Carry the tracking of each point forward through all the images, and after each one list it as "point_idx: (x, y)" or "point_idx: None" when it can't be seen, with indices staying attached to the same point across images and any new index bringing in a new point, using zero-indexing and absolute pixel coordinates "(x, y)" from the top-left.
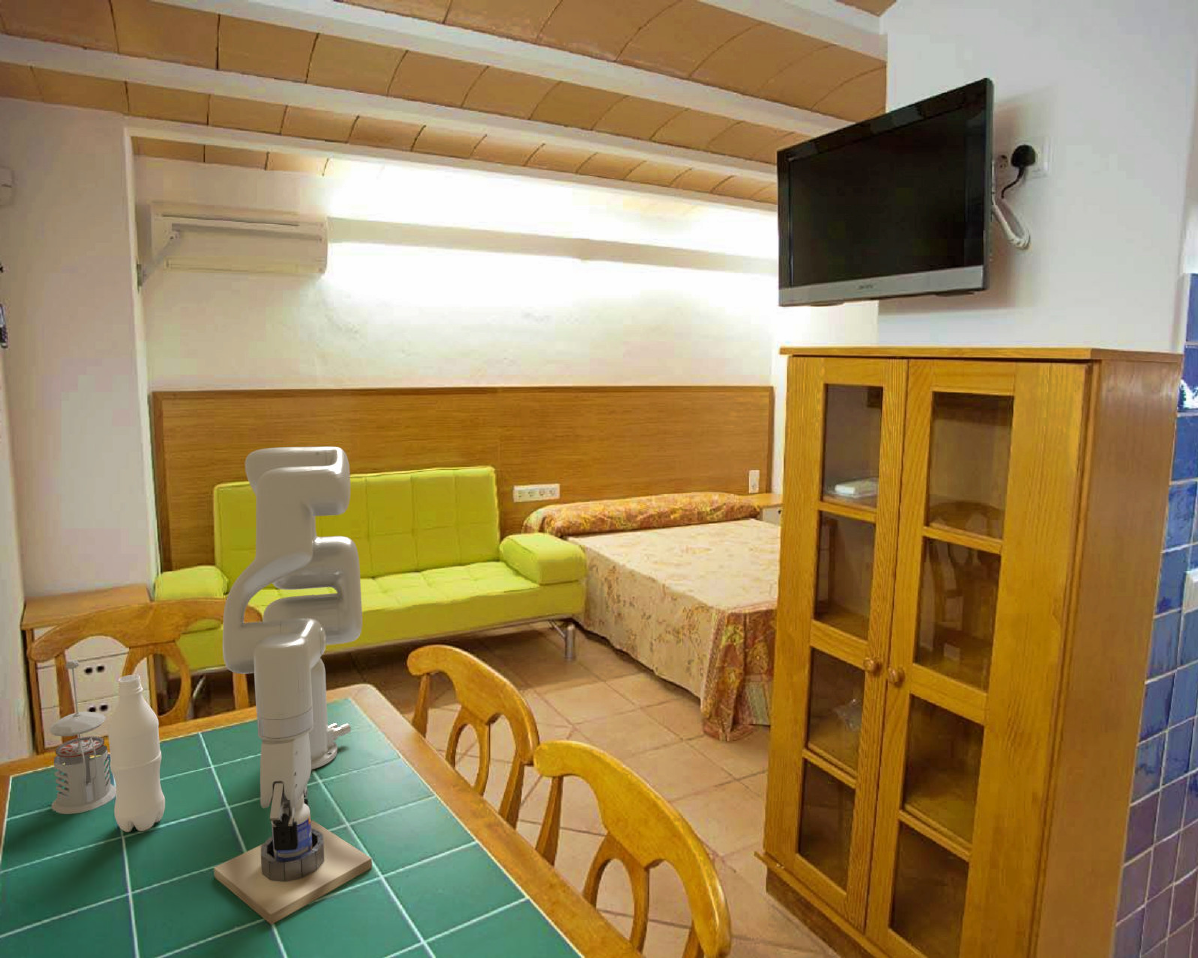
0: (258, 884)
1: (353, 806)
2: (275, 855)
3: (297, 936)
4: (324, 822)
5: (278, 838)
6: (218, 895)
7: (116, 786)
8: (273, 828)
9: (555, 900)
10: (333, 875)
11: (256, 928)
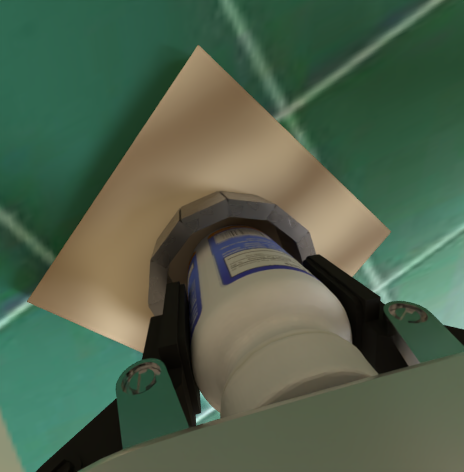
0: (136, 218)
1: (436, 273)
2: (201, 249)
3: (20, 351)
4: (393, 240)
5: (146, 338)
6: (121, 108)
7: None
8: (161, 335)
9: None
10: None
11: (20, 263)
